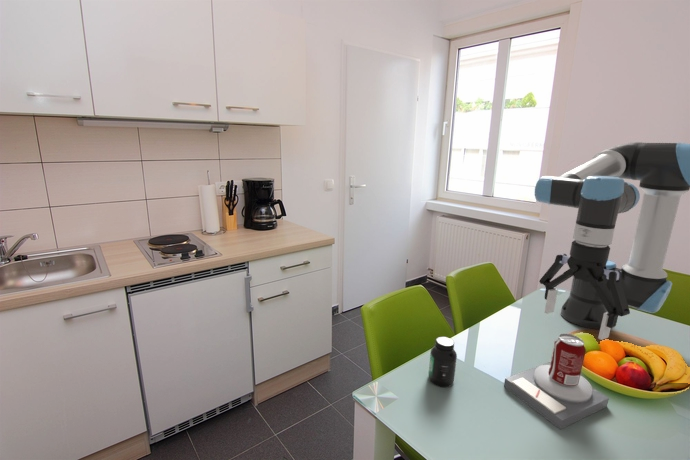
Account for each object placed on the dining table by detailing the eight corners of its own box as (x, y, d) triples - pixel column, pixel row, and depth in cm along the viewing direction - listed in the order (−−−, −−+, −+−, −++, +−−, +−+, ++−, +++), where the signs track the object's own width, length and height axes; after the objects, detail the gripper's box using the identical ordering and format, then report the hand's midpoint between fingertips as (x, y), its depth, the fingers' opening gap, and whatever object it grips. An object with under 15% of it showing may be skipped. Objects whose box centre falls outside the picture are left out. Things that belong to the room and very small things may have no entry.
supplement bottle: (426, 384, 96) (430, 345, 93) (429, 369, 102) (433, 332, 99) (452, 390, 93) (457, 350, 90) (454, 375, 100) (458, 337, 97)
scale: (548, 369, 103) (550, 357, 102) (606, 406, 89) (610, 392, 88) (503, 386, 96) (505, 373, 95) (560, 429, 82) (563, 414, 81)
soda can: (582, 390, 89) (592, 348, 86) (553, 386, 90) (561, 344, 87) (571, 374, 95) (580, 334, 92) (544, 370, 96) (551, 330, 93)
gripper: (532, 231, 92) (520, 305, 98) (644, 261, 70) (620, 355, 76) (551, 228, 95) (539, 300, 101) (664, 257, 74) (640, 347, 79)
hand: (574, 324), depth 88 cm, fingers open, 13 cm apart
